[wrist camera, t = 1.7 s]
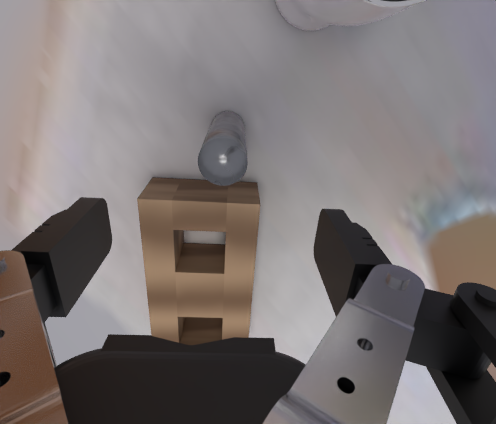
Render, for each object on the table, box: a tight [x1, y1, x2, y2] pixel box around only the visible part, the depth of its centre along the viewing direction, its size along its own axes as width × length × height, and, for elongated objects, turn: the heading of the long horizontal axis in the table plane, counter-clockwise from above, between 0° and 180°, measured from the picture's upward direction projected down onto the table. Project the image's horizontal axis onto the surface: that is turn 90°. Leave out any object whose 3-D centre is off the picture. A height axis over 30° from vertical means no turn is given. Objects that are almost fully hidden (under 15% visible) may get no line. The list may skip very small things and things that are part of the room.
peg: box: [198, 111, 247, 186], centre depth 23 cm, size 3×3×10 cm
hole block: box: [137, 177, 260, 345], centre depth 32 cm, size 20×10×5 cm, turn 176°
